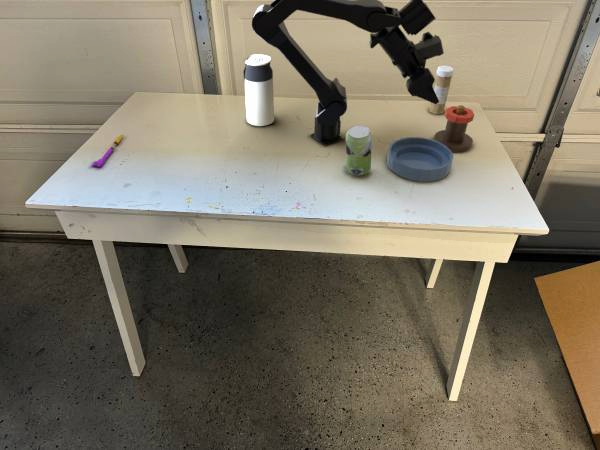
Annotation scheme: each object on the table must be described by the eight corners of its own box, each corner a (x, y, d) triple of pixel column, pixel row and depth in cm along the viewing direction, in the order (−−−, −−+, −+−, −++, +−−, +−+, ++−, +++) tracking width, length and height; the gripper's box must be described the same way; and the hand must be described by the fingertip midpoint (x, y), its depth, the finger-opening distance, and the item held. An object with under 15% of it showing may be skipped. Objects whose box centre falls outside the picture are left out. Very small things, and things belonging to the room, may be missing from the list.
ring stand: (453, 156, 116) (463, 119, 109) (425, 140, 122) (433, 104, 116) (479, 145, 120) (490, 109, 114) (450, 131, 127) (459, 95, 120)
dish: (417, 190, 104) (420, 176, 102) (373, 160, 114) (375, 147, 112) (463, 170, 111) (466, 157, 108) (417, 144, 121) (420, 131, 118)
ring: (447, 123, 114) (449, 117, 113) (443, 111, 119) (444, 105, 118) (474, 124, 114) (476, 118, 113) (469, 112, 119) (470, 106, 118)
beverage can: (373, 167, 112) (378, 124, 104) (363, 183, 106) (369, 138, 99) (349, 162, 114) (353, 118, 106) (339, 176, 108) (342, 132, 101)
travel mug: (249, 128, 127) (244, 65, 116) (245, 116, 133) (240, 55, 122) (276, 125, 129) (274, 62, 117) (271, 113, 135) (269, 52, 123)
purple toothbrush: (101, 167, 110) (125, 137, 123) (99, 163, 110) (123, 133, 122) (92, 169, 111) (116, 138, 123) (89, 165, 110) (114, 134, 122)
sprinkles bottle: (435, 107, 139) (444, 63, 130) (447, 112, 136) (457, 68, 127) (425, 111, 136) (434, 67, 128) (437, 116, 134) (447, 72, 125)
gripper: (434, 37, 96) (471, 89, 103) (421, 13, 110) (454, 61, 117) (391, 71, 101) (429, 119, 108) (384, 44, 115) (418, 88, 122)
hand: (434, 95), depth 114 cm, fingers open, 9 cm apart
